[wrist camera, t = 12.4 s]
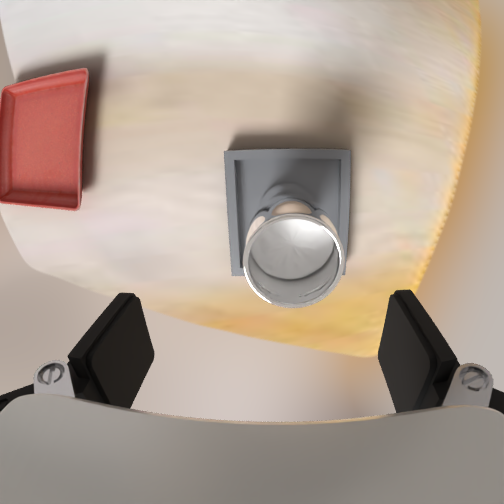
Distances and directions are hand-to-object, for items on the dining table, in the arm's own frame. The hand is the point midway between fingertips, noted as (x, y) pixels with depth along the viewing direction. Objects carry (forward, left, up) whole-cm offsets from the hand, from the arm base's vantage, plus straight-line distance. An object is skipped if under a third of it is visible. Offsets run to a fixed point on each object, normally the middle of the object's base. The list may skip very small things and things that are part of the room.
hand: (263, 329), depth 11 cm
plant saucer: (-10, -31, -25) cm, 41 cm away
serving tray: (+2, +2, -25) cm, 25 cm away
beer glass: (+1, +2, -24) cm, 24 cm away
